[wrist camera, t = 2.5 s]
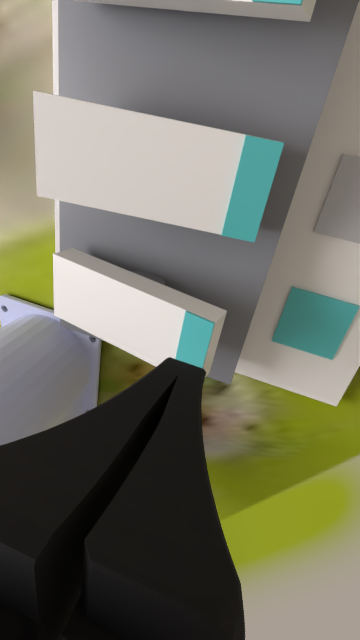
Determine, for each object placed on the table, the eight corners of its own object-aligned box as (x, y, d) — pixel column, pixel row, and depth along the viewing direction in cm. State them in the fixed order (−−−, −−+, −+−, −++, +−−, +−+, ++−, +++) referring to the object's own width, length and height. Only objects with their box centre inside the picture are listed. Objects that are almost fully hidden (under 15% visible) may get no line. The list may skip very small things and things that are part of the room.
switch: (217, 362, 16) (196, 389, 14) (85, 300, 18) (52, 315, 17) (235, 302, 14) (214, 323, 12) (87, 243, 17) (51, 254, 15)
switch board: (334, 395, 20) (340, 439, 17) (65, 305, 23) (30, 329, 20) (650, -170, 9) (815, -316, 6) (66, -194, 12) (-7, -299, 9)
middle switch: (250, 225, 14) (254, 242, 12) (62, 186, 14) (35, 196, 12) (274, 139, 12) (284, 143, 10) (61, 95, 12) (31, 90, 11)
